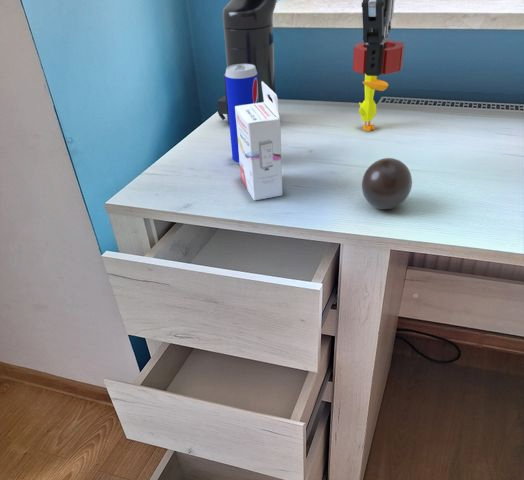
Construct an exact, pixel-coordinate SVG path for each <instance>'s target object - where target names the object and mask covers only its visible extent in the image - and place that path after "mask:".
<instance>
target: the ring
mask: <svg viewBox="0 0 524 480" xmlns="http://www.w3.org/2000/svg"><path fill="white" fill-rule="evenodd" d="M385 42H386V47H385V49H384V50H383V62H382V72H381V74H380V75H382V76H383V75H389V74H393V73H398V72H401V70H402V68H403V64H404V63H403V61H404V51H405V43H404V42H402V41H396V40H390V39H387V41H385ZM366 53H367V45H366V43H364V41H361V42H357V43H356V44H355V45H354V47H353V58H352V71H353V72H356V73H359V74H362V75H365V74H366V73H365V68H366ZM380 75H379V76H380Z"/></svg>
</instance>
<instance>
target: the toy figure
mask: <svg viewBox="0 0 524 480" xmlns="http://www.w3.org/2000/svg"><path fill="white" fill-rule="evenodd" d="M362 84H363V85H364V100H363V101H362V102H360V101H358V103H359V108H358V114H359V116H360V118H361V119H362V121H363V122H364V125H363V127H362V128H361V129H362V130H364V131H366V132H372V131H374V130H376V126H375V124H371V121H372V120H373V119H374V117H375V116H376V114H377V103H376V101H375V100H374V96H375V93H376V91H380V92H383V91H385V90H386V89H388V87H389V83H388V82H387V81H385V80H382V79H378V76H367V75H366V74H364V81H362Z"/></svg>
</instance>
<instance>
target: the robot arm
mask: <svg viewBox="0 0 524 480" xmlns="http://www.w3.org/2000/svg"><path fill="white" fill-rule="evenodd" d="M395 1H396V0H362V1H361V12H362V15H361V16H362V32H363V33H362V35H363V36H362V41H363V42H364V43H366V45H367V53H366V68H365V73H366V75H367V76H377V77H379V76H380V74H381V72H382V62H383V50H384V49H385V47H386V42H385V41H387V40H388V39H389V34H390V31H391V30H392V20H393V18H394V13H395V12H394V11H395ZM276 5H277V0H230V1H229V2H228V3H227V4H226V5H225V6H224V7H223V8H222V14H221V15H222V27H223V37H224V48H225V61H226V62H225V63H226V68H227V67H228V66H231V65H235V64H252V65H254V66H255V67H256V70H257V75H258V95H259V103H261V102H264V99H263V92H262V84H261V82H262V81H263V82H264V83H265V84H266V85H267V86H268V87H269V88H270V89H271V90H272V91H273V92H274V93H275V94H276V81H275V79H276V77H275V47H274V45H275V44H274V12H275V8H276ZM225 74H226V71H225V72H224V73H223V84H224V95H223V96H222V97H220V98H219V99H218V100H216V101H217V115H218V116H219V118H220V119H221V120H222V121H224V120H226V119H227V125H229V113H228V102H227V91H226V79H225ZM268 98H269V100H270V101H271V102H272V103H273V100H272V98H271V97H270V94H269V95H268ZM225 115H226V117H225Z"/></svg>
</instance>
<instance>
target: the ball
mask: <svg viewBox="0 0 524 480" xmlns="http://www.w3.org/2000/svg"><path fill="white" fill-rule="evenodd" d="M412 187H413V177H412V174H411V171H410V168H409V167H408V166H407V164H406V163H404V162H403V161H401V160H400V159H397V158H393V157H385V158H381V159H378V160H376V161H374V162H373V163H372V164H370V166H369V167H368V168H367V169H366V170H365V172H364V174H363V176H362V180H361V191H362V195H363V197H364V199H365V200H366V202H367V203H368V204H369V205H371V206H372V207H374V208H376V209H379V210H392V209H394V208H395V209H396V208H397V207H399V206H400V205H402V204H403V203H404V202H405V201H406V200H407V199H408V197H409V195H410V193H411V191H412Z"/></svg>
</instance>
